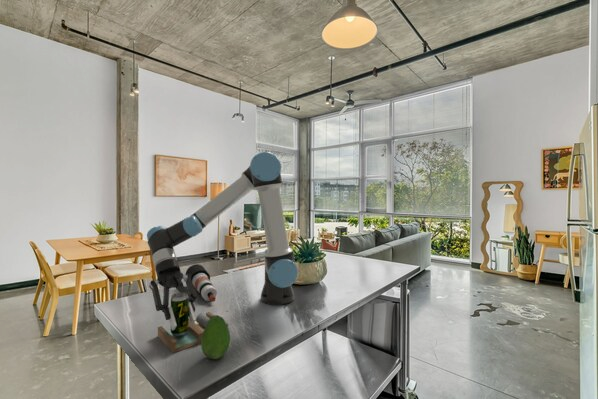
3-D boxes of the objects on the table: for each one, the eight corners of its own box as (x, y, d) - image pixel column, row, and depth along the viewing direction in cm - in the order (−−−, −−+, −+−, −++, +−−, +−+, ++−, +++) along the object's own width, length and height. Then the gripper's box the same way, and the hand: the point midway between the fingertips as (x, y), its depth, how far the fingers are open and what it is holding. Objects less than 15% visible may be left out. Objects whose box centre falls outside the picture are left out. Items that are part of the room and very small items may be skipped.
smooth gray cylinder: (195, 324, 97) (196, 315, 97) (204, 321, 100) (204, 312, 100) (207, 333, 91) (207, 323, 91) (216, 329, 93) (216, 320, 93)
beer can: (166, 334, 88) (166, 296, 88) (179, 327, 93) (179, 291, 93) (179, 337, 86) (179, 299, 86) (192, 329, 91) (192, 293, 91)
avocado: (217, 368, 74) (217, 323, 74) (195, 361, 77) (195, 318, 77) (235, 353, 81) (235, 312, 81) (214, 347, 84) (214, 308, 84)
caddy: (209, 319, 103) (209, 311, 103) (227, 332, 93) (227, 323, 93) (157, 336, 91) (157, 327, 91) (172, 353, 81) (173, 342, 81)
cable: (207, 315, 118) (197, 297, 115) (190, 286, 146) (181, 271, 143) (228, 301, 122) (218, 283, 119) (208, 275, 151) (200, 260, 148)
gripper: (188, 266, 107) (208, 321, 95) (135, 274, 94) (149, 340, 82) (194, 254, 103) (215, 310, 91) (139, 261, 90) (155, 328, 78)
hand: (184, 324), depth 87 cm, fingers closed on beer can, 5 cm apart
